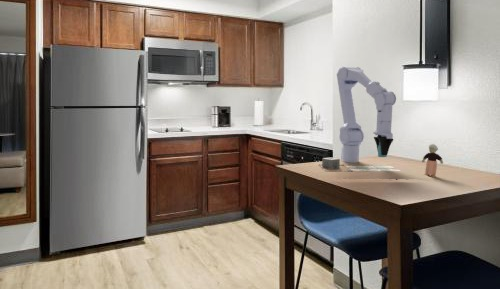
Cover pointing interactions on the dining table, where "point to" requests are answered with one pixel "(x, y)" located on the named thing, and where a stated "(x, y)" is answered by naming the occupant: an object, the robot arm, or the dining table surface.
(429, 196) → the dining table surface
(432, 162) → the grandmother figurine
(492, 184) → the dining table surface
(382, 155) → the pawn
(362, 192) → the dining table surface
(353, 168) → the board
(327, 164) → the grey symbol block
